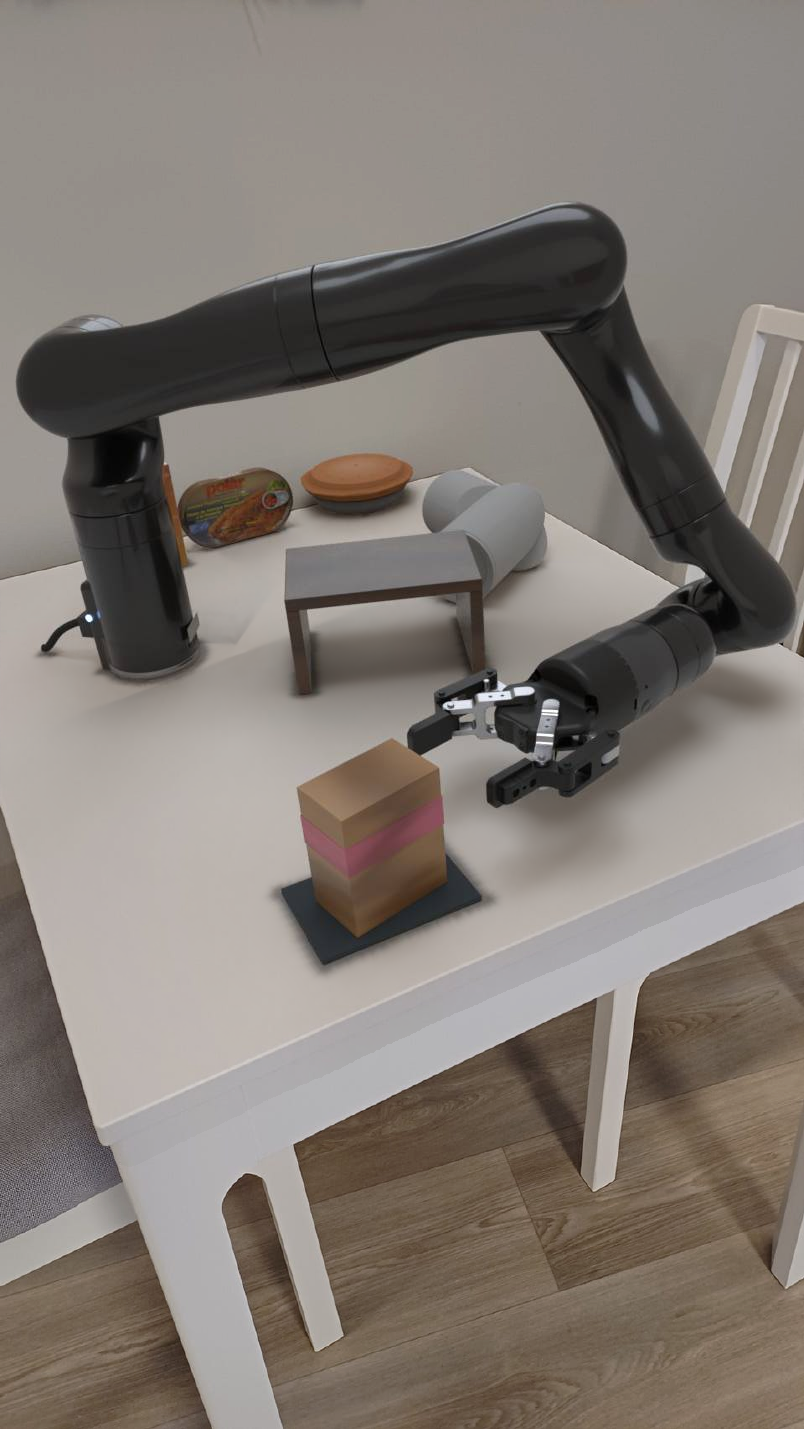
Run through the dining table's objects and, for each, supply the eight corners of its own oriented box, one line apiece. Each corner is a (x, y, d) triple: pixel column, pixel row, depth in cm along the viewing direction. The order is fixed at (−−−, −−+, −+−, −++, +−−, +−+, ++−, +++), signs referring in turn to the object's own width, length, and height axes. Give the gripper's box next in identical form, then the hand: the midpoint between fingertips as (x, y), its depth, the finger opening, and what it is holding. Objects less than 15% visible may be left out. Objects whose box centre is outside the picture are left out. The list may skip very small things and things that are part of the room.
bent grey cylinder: (598, 561, 111) (493, 512, 126) (584, 477, 105) (475, 436, 120) (473, 639, 107) (379, 579, 121) (451, 556, 100) (354, 503, 115)
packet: (357, 939, 66) (340, 822, 61) (314, 900, 70) (295, 786, 64) (448, 881, 70) (440, 767, 65) (403, 848, 74) (392, 737, 68)
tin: (188, 555, 126) (175, 491, 121) (181, 547, 128) (168, 484, 124) (298, 526, 131) (289, 464, 127) (289, 519, 134) (280, 458, 129)
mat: (323, 964, 65) (322, 960, 65) (281, 892, 71) (280, 888, 71) (482, 899, 69) (481, 895, 69) (429, 836, 75) (429, 832, 75)
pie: (372, 473, 147) (369, 439, 144) (437, 498, 136) (435, 462, 133) (283, 501, 140) (278, 467, 137) (344, 530, 129) (340, 493, 126)
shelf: (486, 674, 95) (482, 578, 90) (299, 695, 95) (284, 600, 89) (468, 618, 105) (464, 529, 100) (299, 636, 105) (285, 548, 99)
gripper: (538, 612, 80) (381, 687, 72) (682, 673, 71) (519, 767, 63) (539, 691, 85) (390, 770, 76) (675, 759, 75) (520, 858, 67)
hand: (448, 769), depth 70 cm, fingers open, 8 cm apart
